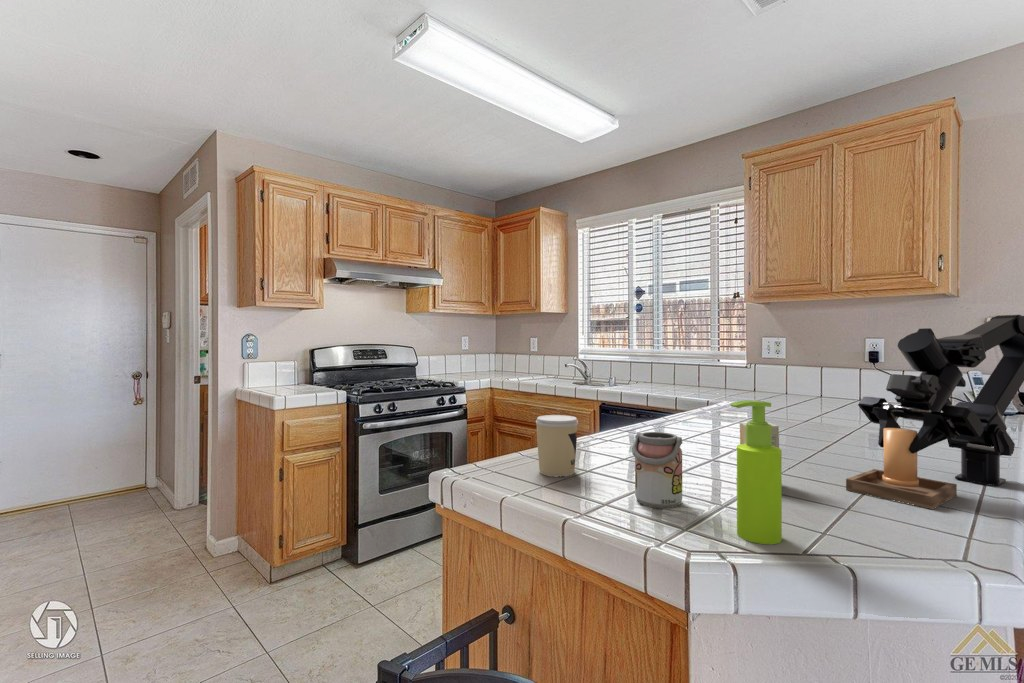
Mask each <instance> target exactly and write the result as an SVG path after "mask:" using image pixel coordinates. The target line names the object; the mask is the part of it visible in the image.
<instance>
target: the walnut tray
mask: <svg viewBox="0 0 1024 683" xmlns="http://www.w3.org/2000/svg"><path fill="white" fill-rule="evenodd" d="M883 474H884V470H882V469H876V468H873V469H871V470H867V471H864V472H862V473H860V474H857V475H854V476H850V477H847V478H846V479H845V486H846V487H845V490H846V491H847V490H848V492H851V491H853V492H852V493H856V492H858V493H857V494H860V493H863V494H862V495H865V494H868V495H867V496H869V495H872V496H871V497H874V496H876V497H875V498H878V497H880V498H879V499H883V498H886V499H885V500H887V499H890V500H889V501H891V500H895V501H894V502H896V501H900V502H904V503H903V504H905V503H909V504H914V505H917V506H916V507H918V506H922V507H925V508H924V509H927V508H930V509H929V510H931V509H932V510H934V509H936V508H937V506H938V507H940V506H941V505H943V504H945V503H946V501H947V502H948V500H949V501H951V500H953V499H954V498H955V496H956V497H957V496H958V495H957V492H958V490H957V488H958V487H957V485H958V484H957V483H953V482H945V481H941V480H937V479H936V480H935V479H930V478H924V477H920V476H917V477H918V480H919V486H918V487H902V486H896V485H891V484H888V483H885V482H883V481H882V475H883ZM900 502H899V503H900ZM944 502H945V503H944ZM942 503H943V504H942ZM909 504H908V505H909ZM914 505H913V506H914ZM939 505H940V506H939ZM922 507H921V508H922ZM935 507H936V508H935ZM933 508H934V509H933Z"/></svg>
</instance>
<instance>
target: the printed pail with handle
mask: <svg viewBox="0 0 1024 683" xmlns="http://www.w3.org/2000/svg"><path fill="white" fill-rule="evenodd" d="M634 437H635V439H634V441H633V444H632V447H631V452H632V454H631V455H632V456H634V495H635V498H636V500H637V501H638V503H639V504H641V505H643V506H645V507H649V508H653V509H654V508H655V509H674V508H676V507H678V506H680V505H681V503H682V501H683V450H682V448H681V446H682V444H683V439H682V438H683V437H681V436H677V435H676V434H673V433H671V432H670V433H669V432H661V431H648V432H647V431H646V432H637V433H636V434H635V436H634Z"/></svg>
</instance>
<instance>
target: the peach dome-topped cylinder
mask: <svg viewBox="0 0 1024 683" xmlns="http://www.w3.org/2000/svg"><path fill="white" fill-rule="evenodd" d="M917 433H918V431H917V430H913V429H909V428H902V427H901V428H884V429H883V435H884V447H883V471H884V474H883V475H882V481H883V482H885V483H888V484H891V485H896V486H902V487H918V486H919V480H918V477H919V476H918V452H916V453H911V452H910V451H909V448H910V446H911V443H912V442H913V440H914V438H915V437H916V435H917Z"/></svg>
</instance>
